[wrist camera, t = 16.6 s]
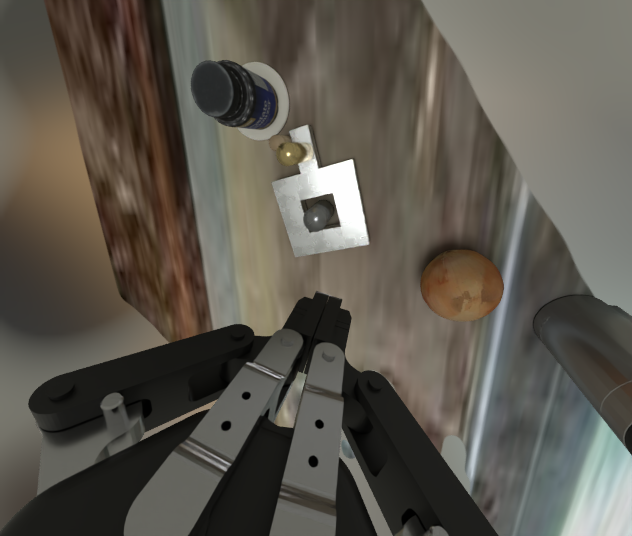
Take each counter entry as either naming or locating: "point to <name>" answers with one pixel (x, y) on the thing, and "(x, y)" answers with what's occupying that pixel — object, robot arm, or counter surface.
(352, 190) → the grey plate with post
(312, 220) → the post
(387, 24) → the counter surface
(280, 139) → the dowel
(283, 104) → the coaster
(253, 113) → the pill bottle
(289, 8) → the counter surface
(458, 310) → the onion
